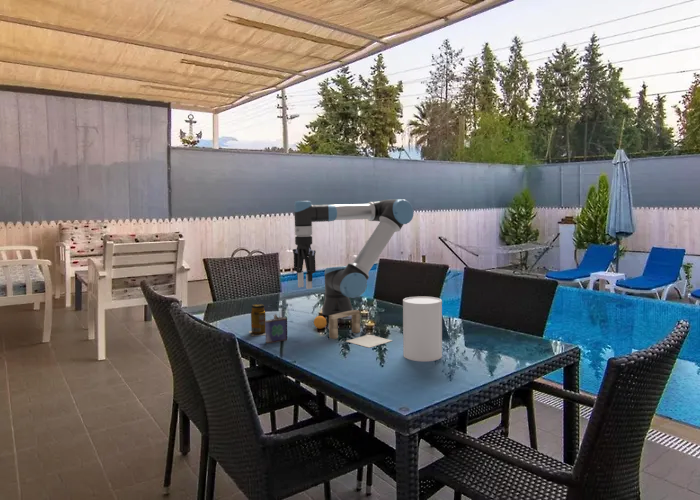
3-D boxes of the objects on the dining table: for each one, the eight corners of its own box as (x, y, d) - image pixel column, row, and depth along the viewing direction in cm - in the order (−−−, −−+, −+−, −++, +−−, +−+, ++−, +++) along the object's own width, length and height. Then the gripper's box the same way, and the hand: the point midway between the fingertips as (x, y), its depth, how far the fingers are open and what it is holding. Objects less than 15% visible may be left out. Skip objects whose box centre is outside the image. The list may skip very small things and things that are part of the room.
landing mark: (369, 335, 214) (368, 334, 214) (392, 341, 204) (392, 340, 204) (345, 341, 205) (345, 340, 205) (368, 347, 196) (368, 347, 196)
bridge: (329, 337, 211) (328, 315, 210) (355, 330, 221) (354, 309, 220) (334, 338, 209) (333, 316, 208) (360, 332, 219) (359, 310, 218)
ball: (321, 326, 231) (320, 313, 230) (329, 328, 227) (328, 315, 226) (311, 328, 227) (311, 316, 226) (319, 330, 223) (319, 317, 222)
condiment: (265, 330, 226) (264, 302, 225) (269, 334, 218) (268, 306, 217) (248, 331, 223) (247, 304, 222) (251, 336, 215) (250, 308, 214)
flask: (267, 343, 204) (266, 316, 203) (264, 342, 207) (263, 315, 206) (288, 340, 209) (288, 313, 208) (285, 338, 211) (285, 312, 210)
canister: (415, 363, 176) (415, 305, 174) (396, 353, 189) (396, 298, 187) (449, 358, 182) (449, 301, 180) (428, 348, 194) (428, 295, 192)
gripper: (284, 235, 234) (286, 286, 237) (309, 237, 221) (311, 291, 223) (297, 234, 239) (299, 284, 242) (323, 236, 226) (324, 289, 228)
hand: (305, 287), depth 232 cm, fingers open, 5 cm apart
